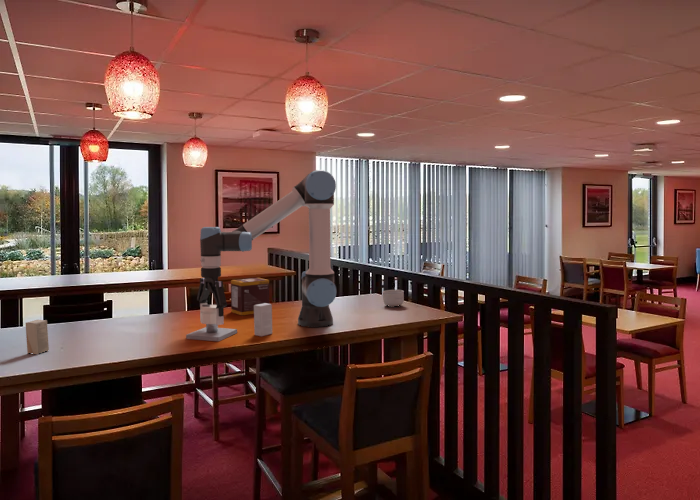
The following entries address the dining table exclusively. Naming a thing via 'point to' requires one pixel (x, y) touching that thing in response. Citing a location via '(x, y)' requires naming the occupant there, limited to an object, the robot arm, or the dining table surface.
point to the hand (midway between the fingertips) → (211, 321)
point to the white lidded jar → (208, 314)
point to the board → (211, 334)
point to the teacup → (393, 297)
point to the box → (37, 336)
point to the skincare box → (263, 319)
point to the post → (211, 328)
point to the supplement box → (248, 294)
